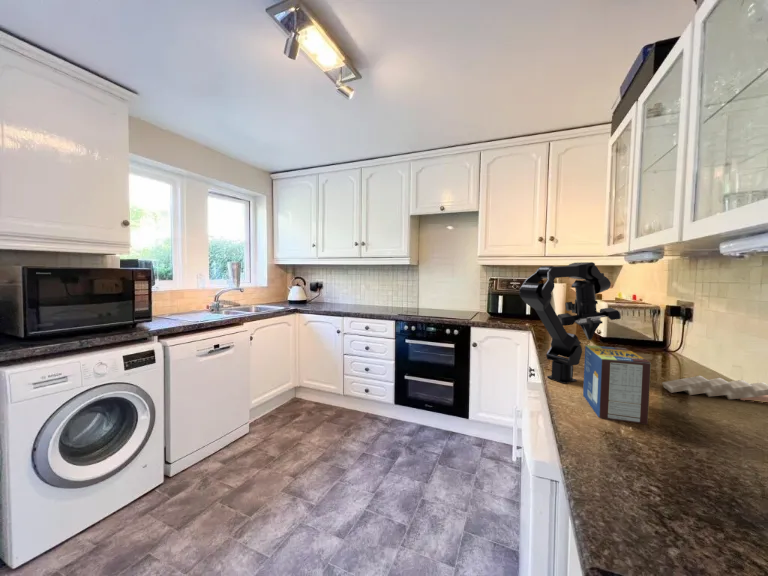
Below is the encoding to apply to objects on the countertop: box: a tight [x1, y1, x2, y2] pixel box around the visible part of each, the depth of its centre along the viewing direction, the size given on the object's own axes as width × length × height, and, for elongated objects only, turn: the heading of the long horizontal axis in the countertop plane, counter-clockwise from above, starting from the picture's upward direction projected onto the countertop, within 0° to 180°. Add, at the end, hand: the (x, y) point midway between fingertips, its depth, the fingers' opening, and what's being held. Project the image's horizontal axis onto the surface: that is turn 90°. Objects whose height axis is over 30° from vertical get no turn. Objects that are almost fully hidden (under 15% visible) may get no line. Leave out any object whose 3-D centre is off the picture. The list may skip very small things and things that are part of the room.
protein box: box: [582, 344, 652, 425], centre depth 85 cm, size 10×15×16 cm
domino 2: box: [684, 377, 733, 396], centre depth 96 cm, size 2×5×10 cm
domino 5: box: [737, 395, 768, 402], centre depth 93 cm, size 2×5×10 cm
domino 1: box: [661, 375, 712, 394], centre depth 98 cm, size 2×5×10 cm
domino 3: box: [704, 379, 754, 398], centre depth 94 cm, size 2×5×10 cm
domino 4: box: [723, 381, 768, 400], centre depth 92 cm, size 2×5×10 cm
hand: (589, 339), depth 113 cm, fingers closed
